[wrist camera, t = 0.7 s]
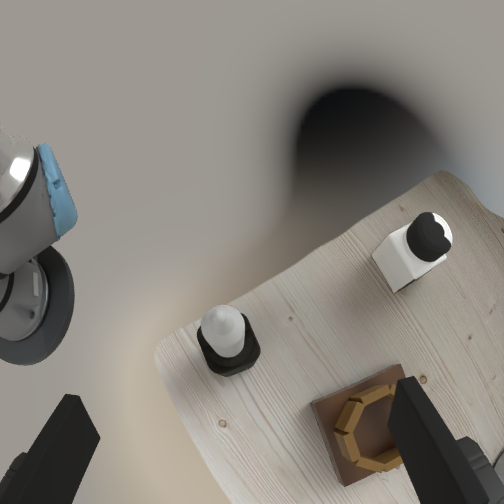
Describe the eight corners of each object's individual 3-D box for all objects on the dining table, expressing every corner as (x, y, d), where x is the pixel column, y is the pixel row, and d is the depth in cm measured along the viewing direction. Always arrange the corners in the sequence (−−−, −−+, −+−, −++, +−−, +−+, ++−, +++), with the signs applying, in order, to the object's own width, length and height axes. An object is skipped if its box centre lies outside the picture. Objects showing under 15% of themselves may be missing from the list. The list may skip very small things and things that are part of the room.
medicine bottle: (393, 294, 44) (434, 265, 33) (369, 254, 47) (403, 216, 36) (424, 274, 46) (466, 243, 35) (402, 237, 48) (437, 198, 37)
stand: (339, 482, 34) (354, 496, 28) (310, 402, 38) (321, 405, 32) (418, 441, 36) (442, 446, 30) (392, 364, 40) (414, 360, 34)
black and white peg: (207, 343, 41) (162, 290, 18) (242, 329, 42) (243, 259, 19) (221, 379, 39) (193, 373, 16) (257, 364, 40) (279, 339, 17)
